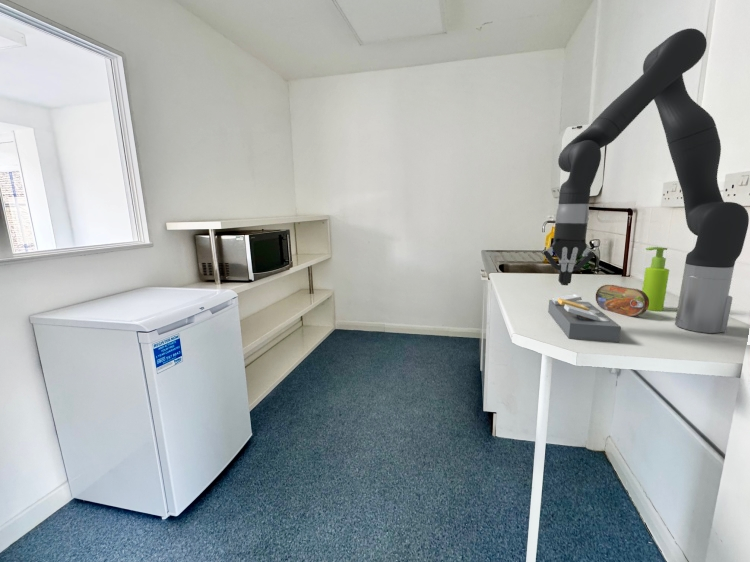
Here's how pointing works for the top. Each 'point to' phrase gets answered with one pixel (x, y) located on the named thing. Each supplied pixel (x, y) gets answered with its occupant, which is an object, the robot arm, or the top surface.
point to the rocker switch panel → (585, 324)
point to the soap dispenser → (656, 280)
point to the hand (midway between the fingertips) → (564, 284)
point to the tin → (622, 300)
